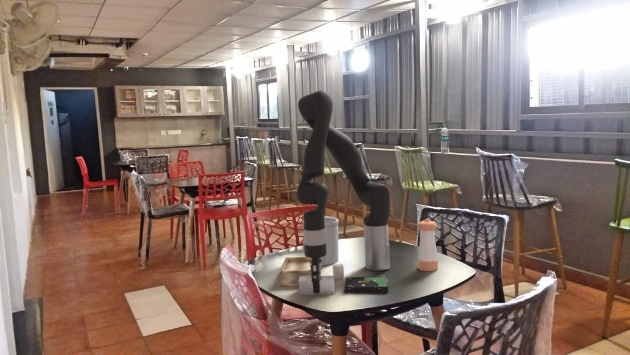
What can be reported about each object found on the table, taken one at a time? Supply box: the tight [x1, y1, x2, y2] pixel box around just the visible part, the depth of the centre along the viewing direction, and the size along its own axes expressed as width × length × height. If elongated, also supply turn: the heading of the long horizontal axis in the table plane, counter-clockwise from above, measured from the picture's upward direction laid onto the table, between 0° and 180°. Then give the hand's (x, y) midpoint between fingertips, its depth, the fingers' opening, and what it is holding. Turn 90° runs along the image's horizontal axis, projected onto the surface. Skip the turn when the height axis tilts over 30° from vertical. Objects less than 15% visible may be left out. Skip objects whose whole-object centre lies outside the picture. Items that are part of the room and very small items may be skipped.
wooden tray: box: [279, 256, 312, 287], centre depth 179 cm, size 13×17×6 cm
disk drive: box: [343, 276, 389, 294], centre depth 166 cm, size 10×3×15 cm
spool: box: [332, 263, 345, 281], centre depth 176 cm, size 4×4×5 cm
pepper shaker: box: [417, 218, 439, 272], centre depth 182 cm, size 7×7×19 cm
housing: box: [298, 275, 336, 296], centre depth 164 cm, size 12×4×6 cm, turn 87°
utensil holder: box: [302, 215, 339, 267], centre depth 199 cm, size 15×15×18 cm
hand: (317, 289), depth 164 cm, fingers open, 6 cm apart
